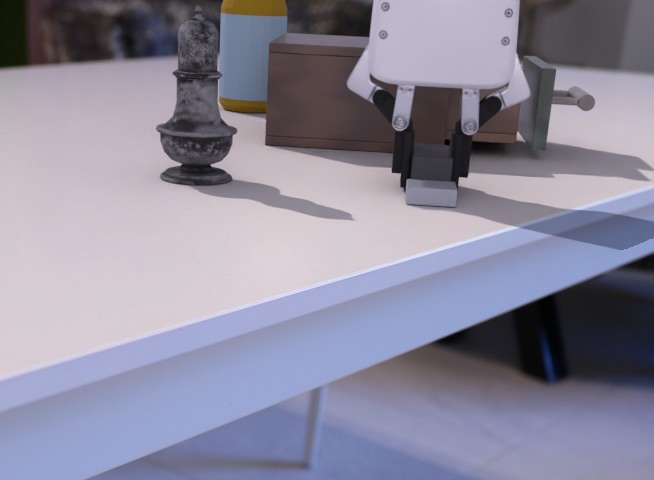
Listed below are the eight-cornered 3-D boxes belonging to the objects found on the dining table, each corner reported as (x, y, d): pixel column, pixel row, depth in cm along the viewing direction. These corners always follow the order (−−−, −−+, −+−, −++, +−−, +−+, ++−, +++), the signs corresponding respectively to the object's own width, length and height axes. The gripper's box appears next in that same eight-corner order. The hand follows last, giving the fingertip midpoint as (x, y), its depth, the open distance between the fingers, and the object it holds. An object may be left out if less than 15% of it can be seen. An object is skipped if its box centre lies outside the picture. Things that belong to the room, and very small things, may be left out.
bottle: (232, 113, 110) (237, -41, 105) (209, 104, 116) (212, -42, 110) (293, 112, 113) (300, -38, 107) (267, 104, 119) (273, -39, 113)
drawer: (570, 130, 103) (580, 58, 100) (594, 153, 90) (607, 71, 88) (379, 119, 104) (384, 48, 102) (377, 140, 92) (383, 59, 89)
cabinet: (436, 131, 105) (445, 41, 102) (443, 155, 91) (453, 52, 88) (281, 122, 106) (285, 32, 103) (265, 144, 92) (268, 42, 89)
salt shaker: (230, 170, 80) (235, 4, 76) (241, 186, 75) (246, 8, 71) (153, 169, 79) (153, 1, 75) (158, 185, 74) (158, 4, 70)
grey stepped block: (449, 182, 80) (453, 145, 79) (455, 207, 72) (460, 166, 71) (404, 179, 80) (407, 142, 79) (405, 204, 72) (409, 163, 71)
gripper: (569, -80, 73) (534, 183, 80) (336, -90, 75) (320, 169, 81) (587, -85, 66) (547, 203, 73) (330, -96, 68) (314, 188, 74)
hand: (428, 183), depth 77 cm, fingers closed on grey stepped block, 2 cm apart
